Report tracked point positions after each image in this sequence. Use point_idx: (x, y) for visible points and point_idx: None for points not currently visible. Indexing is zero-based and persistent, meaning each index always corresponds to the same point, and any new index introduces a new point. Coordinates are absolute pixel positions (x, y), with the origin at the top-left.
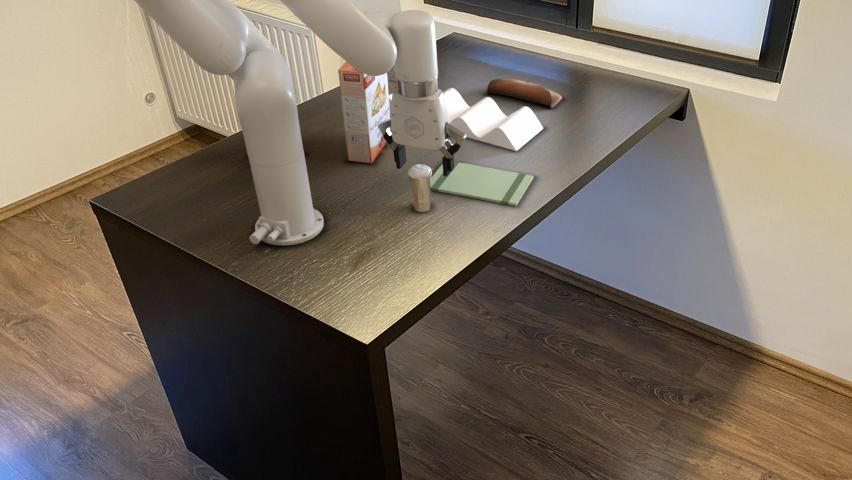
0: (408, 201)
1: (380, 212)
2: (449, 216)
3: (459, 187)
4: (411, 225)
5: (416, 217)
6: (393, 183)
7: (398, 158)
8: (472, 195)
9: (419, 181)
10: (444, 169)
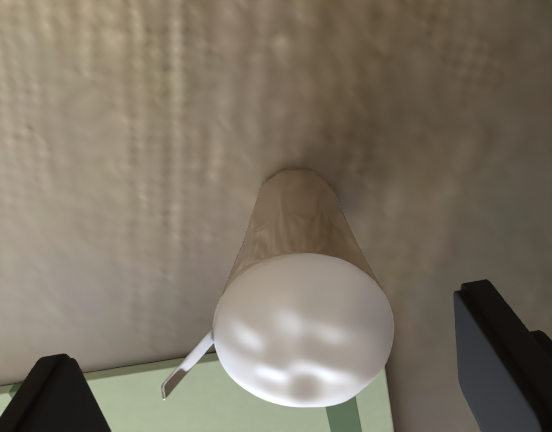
0: (385, 216)
1: (466, 59)
2: (142, 209)
3: (239, 390)
4: (243, 42)
5: (268, 121)
6: (528, 300)
7: (506, 355)
8: (156, 369)
9: (257, 254)
10: (19, 402)
